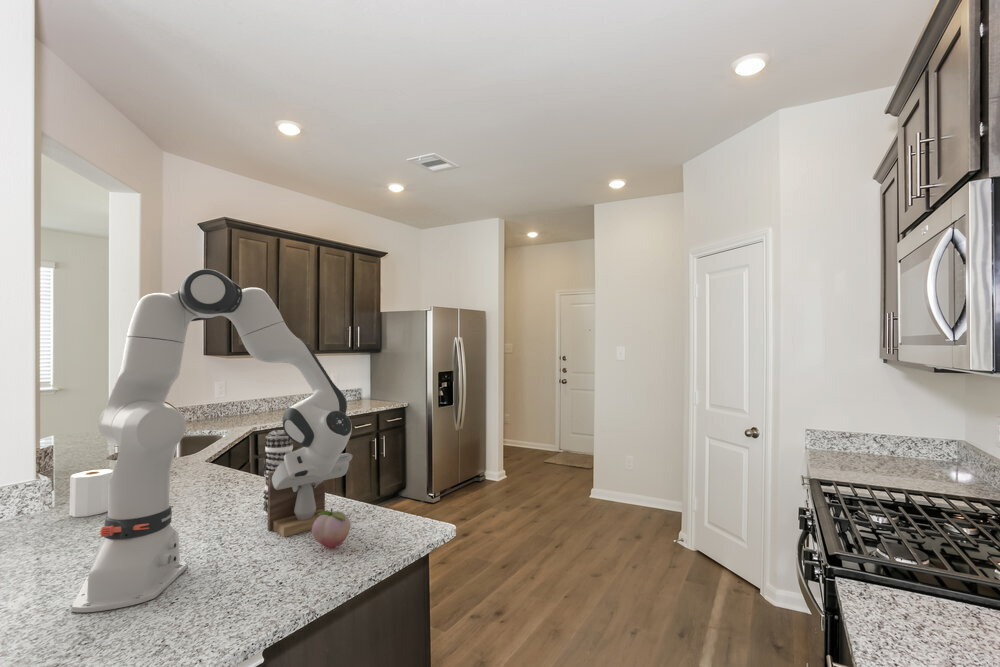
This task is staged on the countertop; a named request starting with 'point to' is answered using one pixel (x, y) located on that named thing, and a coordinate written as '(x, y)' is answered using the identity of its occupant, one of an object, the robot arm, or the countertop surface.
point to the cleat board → (290, 509)
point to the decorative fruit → (331, 528)
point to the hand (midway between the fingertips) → (303, 487)
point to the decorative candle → (274, 456)
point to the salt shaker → (305, 503)
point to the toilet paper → (89, 492)
